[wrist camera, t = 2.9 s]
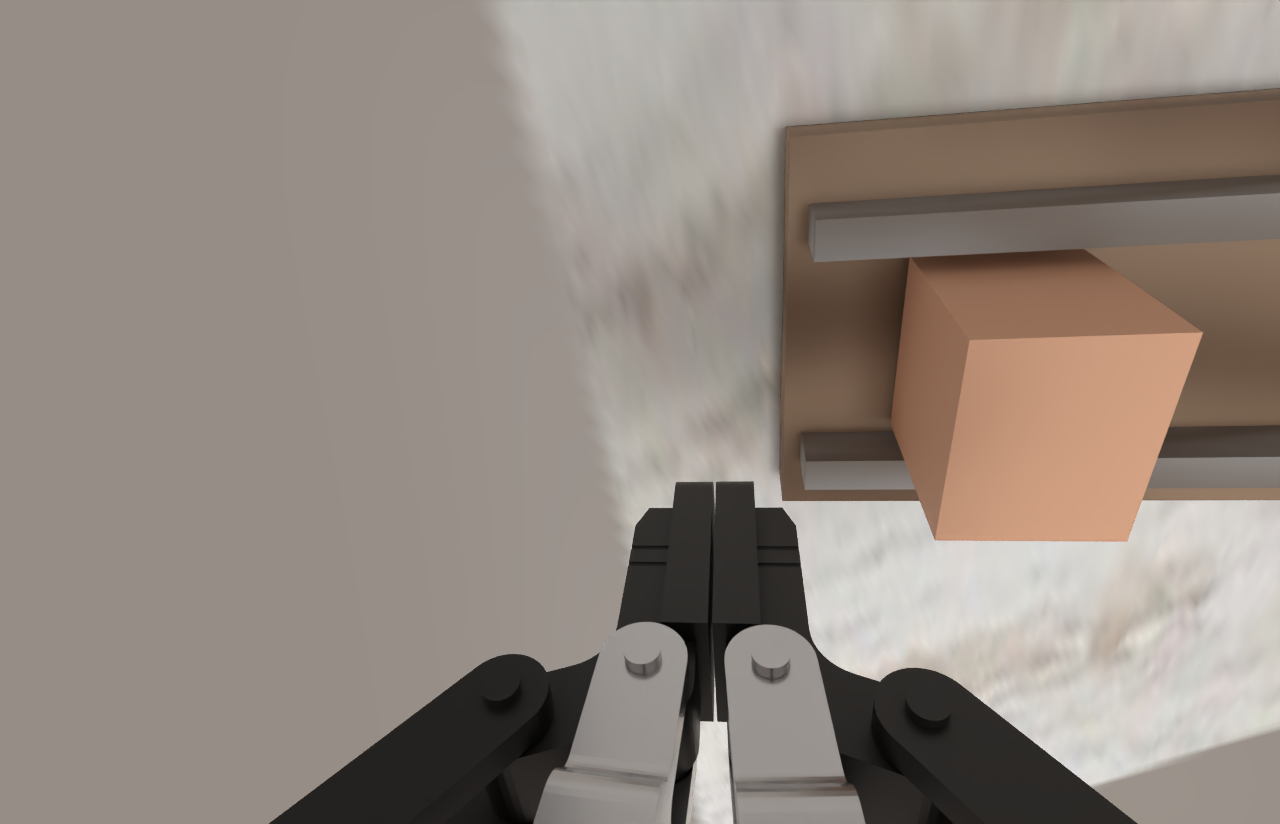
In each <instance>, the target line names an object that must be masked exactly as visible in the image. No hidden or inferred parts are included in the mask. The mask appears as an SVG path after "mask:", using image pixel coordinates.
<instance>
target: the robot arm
mask: <svg viewBox="0 0 1280 824" xmlns="http://www.w3.org/2000/svg"><path fill="white" fill-rule="evenodd" d="M714 677H715V685H716V703H717V721H719V722H727V730H728V750H729V751H728V753H729V774H730V787H731V799H732V812H733V824H1137V823H1136V822H1135V821H1133V820H1132V819H1131V818H1130V817H1128V816H1127V815H1125V813H1123V812H1122V811H1120V810H1119V809H1118V808H1117V807H1116V806H1114V805H1113V804H1112V803H1110V802H1109V801H1108V800H1107V799H1105V798H1104V797H1103V796H1102V795H1100V794H1099V793H1098V792H1097V791H1095V790H1094V789H1093V788H1091V787H1090V786H1089V785H1088V784H1086V783H1085V782H1084V781H1083V780H1081V779H1080V778H1079V777H1077V776H1076V775H1075V774H1074V773H1072V772H1071V771H1070V770H1068V769H1067V768H1066V767H1065V766H1063V765H1062V764H1061V763H1060V762H1058V761H1057V760H1056V759H1054V758H1053V757H1052V756H1051V755H1049V754H1048V753H1047V752H1046V751H1044V750H1043V749H1042V748H1040V747H1039V746H1038V745H1037V744H1035V743H1034V742H1033V741H1032V740H1030V739H1029V738H1028V737H1026V736H1025V735H1024V734H1023V733H1021V732H1020V731H1019V730H1018V729H1016V728H1015V727H1014V726H1012V725H1011V724H1010V723H1009V722H1007V721H1006V720H1005V719H1004V718H1002V717H1001V716H1000V715H998V714H997V713H996V712H995V711H993V710H992V709H991V708H989V707H988V706H987V705H986V704H984V703H983V702H982V701H981V700H979V699H978V698H977V697H975V696H974V695H973V694H972V693H970V692H969V691H968V690H967V689H965V688H964V687H963V686H961V685H960V684H959V683H957V682H956V681H954V680H953V679H951V678H949V677H947V676H945V675H943V674H941V673H938V672H936V671H932V670H928V669H922V668H906V669H900V670H897V671H894V672H892V673H890V674H889V675H887V676H886V677H885V678H883V679H882V680H881V682H879V681H876V680H872V679H869V678H866V677H863V676H859V675H856V674H853V673H851V672H848V671H845V670H843V669H841V668H839V667H837V666H836V665H834V664H833V663H831V662H830V661H829V660H828V659H826V658H825V657H824V656H823V655H822V654H821V653H820V651H819V650H818V649H817V648H816V646H815V644H814V643H813V641H812V638H811V636H810V631H809V625H808V617H807V609H806V601H805V594H804V586H803V578H802V570H801V563H800V555H799V550H798V539H797V531H796V525H795V524H794V523H793V521H792V520H791V519H790V517H789V516H788V515H787V513H786V512H785V511H784V510H783V508H755V500H754V482H753V481H751V482H716V503H715V502H714V484H713V482H676V486H675V494H674V503H673V508H649V509H648V511H647V512H646V513H645V515H644V516H643V517H642V518H641V520H640V521H639V522H638V523H637V525H636V527H635V532H634V538H633V543H632V549H631V554H630V560H629V566H628V571H627V576H626V582H625V587H624V593H623V598H622V604H621V609H620V615H619V620H618V626H617V629H616V632H614V633H613V634H612V635H611V636H610V637H609V638H608V639H607V640H606V641H605V643H604V644H603V646H602V648H601V651H600V653H598V654H597V655H596V656H594V657H593V658H591V659H589V660H587V661H585V662H582V663H580V664H576V665H573V666H570V667H566V668H561V669H558V670H554V671H550V672H546V671H545V669H544V668H543V666H542V665H541V664H540V663H539V662H537V661H536V660H535V659H533V658H530V657H528V656H525V655H519V654H508V655H502V656H498V657H495V658H492V659H490V660H488V661H486V662H484V663H482V664H481V665H479V666H478V667H476V668H475V669H474V670H473V671H471V672H470V673H468V674H467V675H466V676H464V677H463V678H462V679H460V680H459V681H458V682H456V683H455V684H454V685H452V686H451V687H450V688H448V689H447V690H446V691H444V692H443V693H442V694H440V695H439V696H438V697H436V698H435V699H434V700H432V701H431V702H430V703H429V704H427V705H426V706H425V707H423V708H422V709H421V710H419V711H418V712H416V713H415V714H414V715H412V716H411V717H410V718H409V719H407V720H406V721H405V722H403V723H402V724H401V725H399V726H398V727H397V728H395V729H394V730H393V731H391V732H390V733H389V734H387V735H386V736H385V737H383V738H382V739H381V740H379V741H378V742H377V743H375V744H374V745H373V746H371V747H370V748H369V749H367V750H366V751H365V752H363V753H362V754H361V755H359V756H358V757H357V758H355V759H354V760H353V761H351V762H350V763H349V764H347V765H346V766H345V767H343V768H342V769H341V770H340V771H338V772H337V773H336V774H334V775H333V776H332V777H330V778H329V779H328V780H326V781H325V782H324V783H322V784H321V785H320V786H318V787H317V788H316V789H315V790H313V791H312V792H310V793H309V794H308V795H306V796H305V797H304V798H302V799H301V800H300V801H298V802H297V803H296V804H294V805H293V806H292V807H290V808H289V809H288V810H287V811H285V812H284V813H283V814H281V815H280V816H278V817H277V818H276V819H275V820H273V821H272V822H270V823H269V824H690V819H691V810H692V802H693V794H694V786H695V778H696V770H697V760H696V758H697V755H698V751H699V737H700V721H712V722H713V721H714Z"/></svg>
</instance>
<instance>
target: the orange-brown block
mask: <svg viewBox="0 0 1280 824" xmlns="http://www.w3.org/2000/svg"><path fill="white" fill-rule="evenodd" d="M1202 334H1203V332H1202V331H1200V330H1199V329H1198V328H1196V327H1195V326H1193V325H1192V324H1190V323H1189V322H1188V321H1186V320H1185V319H1183V318H1182V317H1180V316H1179V315H1178V314H1176V313H1175V312H1173V311H1172V310H1171V309H1169V308H1168V307H1166V306H1165V305H1163V304H1162V303H1161V302H1159V301H1158V300H1156V299H1155V298H1153V297H1152V296H1151V295H1149V294H1148V293H1146V292H1145V291H1143V290H1142V289H1141V288H1139V287H1138V286H1136V285H1135V284H1134V283H1132V282H1131V281H1129V280H1128V279H1126V278H1125V277H1124V276H1122V275H1121V274H1119V273H1118V272H1116V271H1115V270H1114V269H1112V268H1111V267H1109V266H1108V265H1106V264H1105V263H1104V262H1102V261H1101V260H1099V259H1098V258H1096V257H1095V256H1094V255H1092V254H1091V253H1089V252H1088V251H1087V250H1085V249H1068V250H1048V251H1028V252H1008V253H988V254H968V255H948V256H928V257H910V258H909V266H908V275H907V284H906V292H905V301H904V310H903V318H902V327H901V336H900V344H899V353H898V361H897V370H896V379H895V387H894V396H893V405H892V413H891V422H890V424H891V426H892V429H893V432H894V434H895V437H896V440H897V442H898V445H899V447H900V450H901V453H902V455H903V458H904V461H905V463H906V466H907V468H908V471H909V474H910V476H911V479H912V481H913V484H914V487H915V489H916V492H917V495H918V497H919V500H920V502H921V505H922V508H923V510H924V513H925V516H926V518H927V521H928V523H929V526H930V529H931V531H932V534H933V536H934V539H935V540H966V541H1125V542H1127V540H1128V538H1129V535H1130V532H1131V529H1132V527H1133V524H1134V521H1135V518H1136V516H1137V513H1138V510H1139V507H1140V505H1141V502H1142V499H1143V496H1144V494H1145V491H1146V488H1147V485H1148V483H1149V480H1150V477H1151V474H1152V472H1153V469H1154V466H1155V463H1156V461H1157V458H1158V455H1159V452H1160V450H1161V447H1162V444H1163V441H1164V439H1165V436H1166V433H1167V430H1168V428H1169V425H1170V422H1171V419H1172V417H1173V414H1174V411H1175V408H1176V406H1177V403H1178V400H1179V397H1180V395H1181V392H1182V389H1183V386H1184V384H1185V381H1186V378H1187V375H1188V373H1189V370H1190V367H1191V364H1192V362H1193V359H1194V356H1195V353H1196V351H1197V348H1198V345H1199V342H1200V340H1201V337H1202Z"/></svg>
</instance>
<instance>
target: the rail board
mask: <svg viewBox="0 0 1280 824" xmlns="http://www.w3.org/2000/svg"><path fill="white" fill-rule="evenodd" d="M1068 249H1085V250H1087V251H1088V252H1089V253H1091V254H1092V255H1094V256H1095V257H1096V258H1098V259H1099V260H1101V261H1102V262H1104V263H1105V264H1106V265H1108V266H1109V267H1111V268H1112V269H1114V270H1115V271H1116V272H1118V273H1119V274H1121V275H1122V276H1124V277H1125V278H1126V279H1128V280H1129V281H1131V282H1132V283H1134V284H1135V285H1136V286H1138V287H1139V288H1141V289H1142V290H1143V291H1145V292H1146V293H1148V294H1149V295H1151V296H1152V297H1153V298H1155V299H1156V300H1158V301H1159V302H1161V303H1162V304H1163V305H1165V306H1166V307H1168V308H1169V309H1171V310H1172V311H1173V312H1175V313H1176V314H1178V315H1179V316H1180V317H1182V318H1183V319H1185V320H1186V321H1188V322H1189V323H1190V324H1192V325H1193V326H1195V327H1196V328H1198V329H1199V330H1200V331H1202V332H1203V334H1202V337H1201V340H1200V342H1199V345H1198V348H1197V351H1196V353H1195V356H1194V359H1193V362H1192V364H1191V367H1190V370H1189V373H1188V375H1187V378H1186V381H1185V384H1184V386H1183V389H1182V392H1181V395H1180V397H1179V400H1178V403H1177V406H1176V408H1175V411H1174V414H1173V417H1172V419H1171V422H1170V425H1169V428H1168V430H1167V433H1166V436H1165V439H1164V441H1163V444H1162V447H1161V450H1160V452H1159V455H1158V458H1157V461H1156V463H1155V466H1154V469H1153V472H1152V474H1151V477H1150V480H1149V483H1148V485H1147V488H1146V491H1145V494H1144V496H1143V499H1142V500H1280V88H1278V89H1265V90H1253V91H1240V92H1227V93H1214V94H1201V95H1189V96H1176V97H1163V98H1150V99H1137V100H1124V101H1112V102H1099V103H1086V104H1073V105H1060V106H1048V107H1035V108H1022V109H1009V110H996V111H984V112H971V113H958V114H945V115H932V116H919V117H907V118H894V119H881V120H868V121H855V122H843V123H830V124H817V125H804V126H791V127H786V149H785V204H784V259H783V314H782V369H781V424H780V481H781V491H782V500H783V501H920V500H919V497H918V495H917V492H916V489H915V487H914V484H913V481H912V479H911V476H910V474H909V471H908V468H907V466H906V463H905V461H904V458H903V455H902V453H901V450H900V447H899V445H898V442H897V440H896V437H895V434H894V432H893V429H892V426H891V424H890V422H891V413H892V405H893V396H894V387H895V379H896V370H897V361H898V353H899V344H900V336H901V327H902V318H903V310H904V301H905V292H906V284H907V275H908V266H909V258H910V257H928V256H948V255H968V254H988V253H1008V252H1028V251H1048V250H1068Z"/></svg>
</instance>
